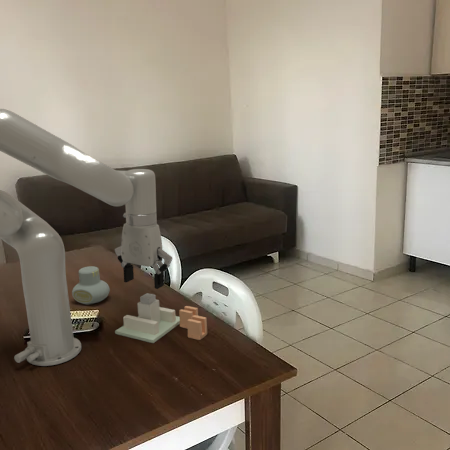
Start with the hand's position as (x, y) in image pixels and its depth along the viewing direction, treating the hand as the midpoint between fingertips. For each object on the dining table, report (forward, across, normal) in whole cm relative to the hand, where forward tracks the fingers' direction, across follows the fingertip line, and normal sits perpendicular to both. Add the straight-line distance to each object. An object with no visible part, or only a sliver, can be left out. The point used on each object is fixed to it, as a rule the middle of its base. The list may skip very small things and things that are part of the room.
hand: (143, 283), depth 127 cm
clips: (+12, +12, +4) cm, 18 cm away
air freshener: (+13, -26, +8) cm, 30 cm away
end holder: (+12, +1, +1) cm, 12 cm away
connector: (+12, +1, +1) cm, 12 cm away
